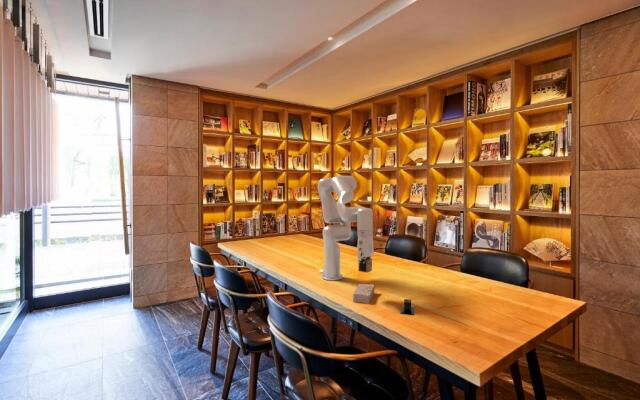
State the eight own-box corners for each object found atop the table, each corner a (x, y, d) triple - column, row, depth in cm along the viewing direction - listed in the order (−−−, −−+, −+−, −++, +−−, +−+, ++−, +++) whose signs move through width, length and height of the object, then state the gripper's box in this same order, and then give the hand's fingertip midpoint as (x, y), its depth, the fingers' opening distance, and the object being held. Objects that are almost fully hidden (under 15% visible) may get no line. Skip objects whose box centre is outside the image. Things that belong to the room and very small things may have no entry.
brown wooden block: (358, 271, 162) (358, 259, 161) (362, 269, 166) (362, 257, 166) (367, 272, 159) (367, 260, 159) (372, 270, 163) (371, 258, 163)
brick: (369, 304, 154) (369, 294, 154) (352, 302, 156) (352, 292, 156) (374, 293, 169) (374, 284, 169) (359, 291, 172) (359, 283, 172)
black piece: (399, 305, 153) (399, 295, 153) (417, 307, 151) (417, 296, 150) (398, 316, 140) (398, 305, 140) (417, 318, 138) (417, 306, 138)
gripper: (364, 236, 152) (365, 274, 153) (378, 231, 167) (378, 267, 167) (350, 235, 156) (350, 272, 157) (365, 230, 171) (365, 265, 171)
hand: (365, 269), depth 162 cm, fingers closed on brown wooden block, 5 cm apart
